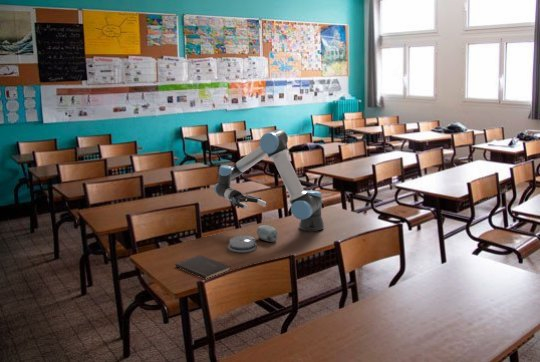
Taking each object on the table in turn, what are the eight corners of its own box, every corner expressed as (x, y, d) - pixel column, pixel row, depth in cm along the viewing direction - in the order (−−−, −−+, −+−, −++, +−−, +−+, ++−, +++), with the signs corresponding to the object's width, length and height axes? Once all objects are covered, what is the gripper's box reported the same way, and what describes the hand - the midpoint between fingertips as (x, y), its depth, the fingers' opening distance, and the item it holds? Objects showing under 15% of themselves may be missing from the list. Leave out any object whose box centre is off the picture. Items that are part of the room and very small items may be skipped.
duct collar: (245, 240, 294) (245, 233, 293) (263, 248, 282) (263, 240, 281) (222, 247, 285) (222, 239, 284) (239, 255, 273) (239, 247, 272)
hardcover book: (200, 259, 270) (200, 254, 269) (230, 270, 255) (230, 266, 254) (175, 268, 258) (175, 263, 258) (205, 281, 243) (205, 276, 243)
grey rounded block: (283, 235, 292) (274, 221, 290) (272, 246, 288) (263, 232, 285) (271, 234, 304) (262, 221, 301) (259, 245, 300) (250, 231, 297)
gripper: (248, 198, 322) (271, 209, 308) (216, 204, 305) (239, 216, 291) (249, 187, 320) (273, 197, 306) (217, 192, 303) (240, 203, 289)
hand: (256, 206), depth 298 cm, fingers open, 13 cm apart
